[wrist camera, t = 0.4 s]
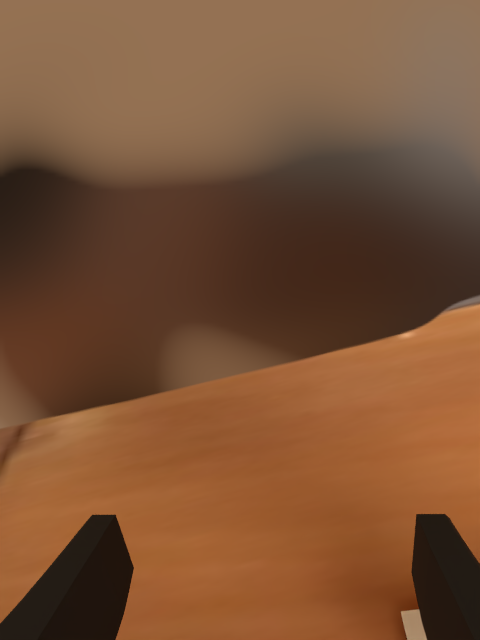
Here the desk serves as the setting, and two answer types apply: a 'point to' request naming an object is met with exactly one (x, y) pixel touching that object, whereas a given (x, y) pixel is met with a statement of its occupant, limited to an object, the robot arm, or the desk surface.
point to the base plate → (413, 625)
